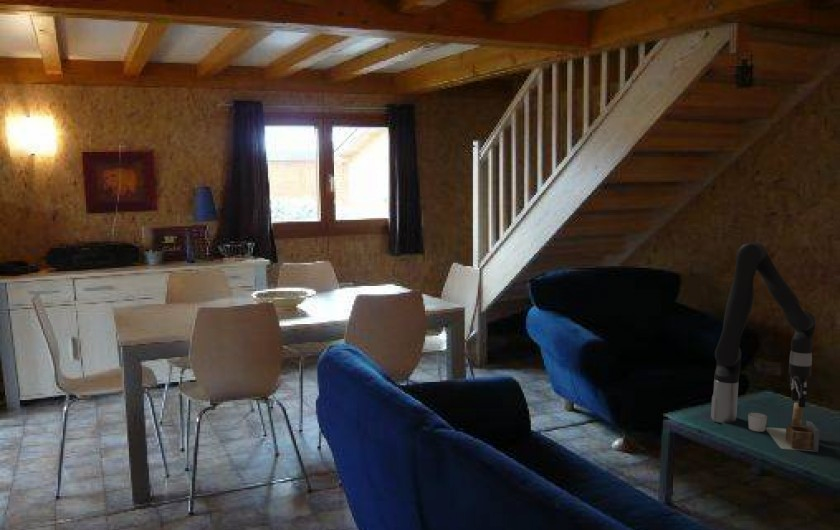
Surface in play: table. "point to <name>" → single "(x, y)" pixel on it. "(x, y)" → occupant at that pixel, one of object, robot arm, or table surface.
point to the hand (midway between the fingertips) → (798, 403)
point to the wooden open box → (799, 436)
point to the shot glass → (757, 421)
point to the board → (782, 438)
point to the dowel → (797, 415)
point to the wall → (816, 434)
